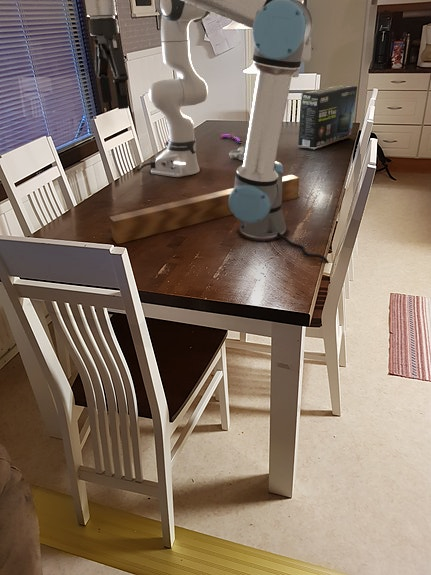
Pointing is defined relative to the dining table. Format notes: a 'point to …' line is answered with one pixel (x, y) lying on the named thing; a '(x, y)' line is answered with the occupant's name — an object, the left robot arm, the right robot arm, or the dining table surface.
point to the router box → (326, 115)
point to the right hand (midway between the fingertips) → (114, 105)
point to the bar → (182, 213)
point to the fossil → (238, 153)
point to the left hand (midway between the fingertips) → (286, 75)
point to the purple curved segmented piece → (232, 138)
